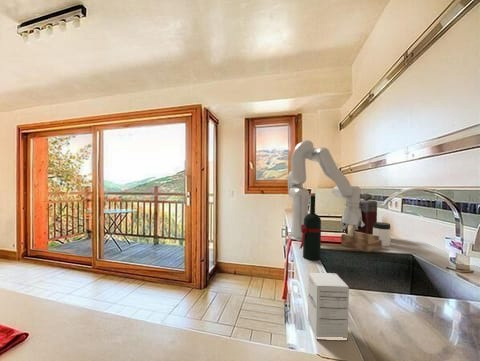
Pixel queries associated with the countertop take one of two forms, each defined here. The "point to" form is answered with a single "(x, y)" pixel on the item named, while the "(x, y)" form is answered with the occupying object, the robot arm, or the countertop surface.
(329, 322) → the supplement box
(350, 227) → the roll
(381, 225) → the jar
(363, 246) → the holder
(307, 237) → the wine bottle
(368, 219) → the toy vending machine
